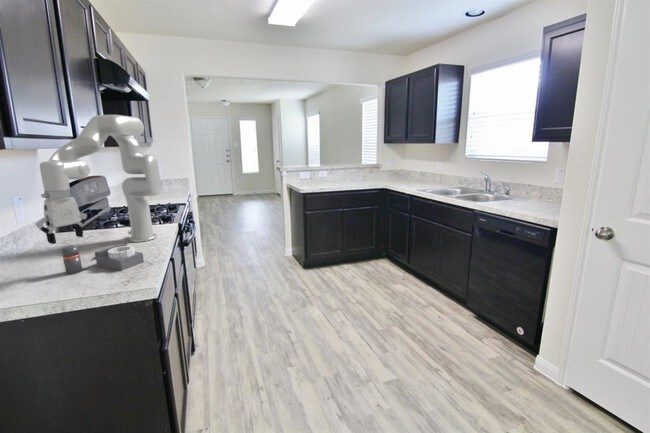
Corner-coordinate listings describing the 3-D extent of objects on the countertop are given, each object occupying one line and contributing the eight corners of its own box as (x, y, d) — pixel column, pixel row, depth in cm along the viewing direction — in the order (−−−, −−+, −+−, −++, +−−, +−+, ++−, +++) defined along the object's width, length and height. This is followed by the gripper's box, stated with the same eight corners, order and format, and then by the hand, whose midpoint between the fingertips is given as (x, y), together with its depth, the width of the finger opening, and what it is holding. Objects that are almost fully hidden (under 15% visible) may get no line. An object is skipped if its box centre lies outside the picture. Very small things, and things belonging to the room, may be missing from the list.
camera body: (97, 266, 137) (94, 251, 135) (119, 258, 146) (117, 243, 144) (122, 270, 132) (119, 254, 130) (143, 261, 141) (141, 246, 139)
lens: (63, 273, 130) (57, 248, 128) (76, 268, 135) (72, 244, 132) (72, 275, 128) (66, 250, 126) (85, 270, 133) (80, 246, 130)
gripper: (37, 199, 115) (47, 247, 119) (88, 192, 131) (95, 235, 134) (24, 198, 118) (34, 245, 121) (75, 191, 133) (83, 233, 137)
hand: (66, 239), depth 128 cm, fingers open, 9 cm apart
